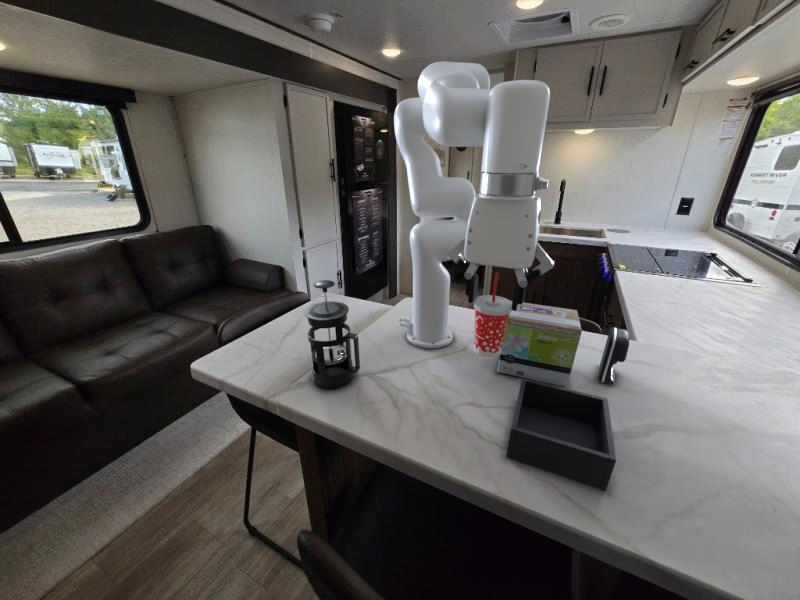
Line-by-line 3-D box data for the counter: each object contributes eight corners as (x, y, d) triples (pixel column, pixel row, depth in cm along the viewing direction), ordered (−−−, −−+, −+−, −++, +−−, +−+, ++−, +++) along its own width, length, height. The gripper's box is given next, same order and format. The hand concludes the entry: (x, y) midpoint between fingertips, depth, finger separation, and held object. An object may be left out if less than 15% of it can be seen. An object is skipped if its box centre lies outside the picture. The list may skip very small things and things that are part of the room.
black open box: (505, 457, 57) (510, 428, 54) (517, 403, 69) (522, 377, 66) (605, 491, 51) (616, 460, 49) (599, 425, 63) (607, 398, 61)
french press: (301, 385, 75) (287, 287, 65) (322, 361, 83) (312, 272, 73) (350, 395, 71) (342, 294, 62) (367, 370, 80) (362, 277, 70)
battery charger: (617, 388, 73) (632, 342, 69) (597, 382, 75) (610, 337, 70) (617, 371, 79) (631, 328, 74) (599, 366, 80) (611, 323, 76)
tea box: (496, 374, 78) (504, 316, 72) (500, 351, 86) (507, 298, 80) (568, 388, 73) (583, 328, 67) (564, 363, 82) (577, 307, 76)
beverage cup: (468, 339, 61) (475, 266, 56) (503, 342, 61) (513, 267, 55) (470, 358, 56) (478, 279, 50) (508, 361, 55) (521, 281, 49)
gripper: (575, 186, 47) (551, 304, 54) (454, 181, 54) (448, 287, 61) (576, 192, 41) (549, 324, 48) (439, 186, 47) (434, 303, 55)
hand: (493, 302), depth 55 cm, fingers closed on beverage cup, 6 cm apart
